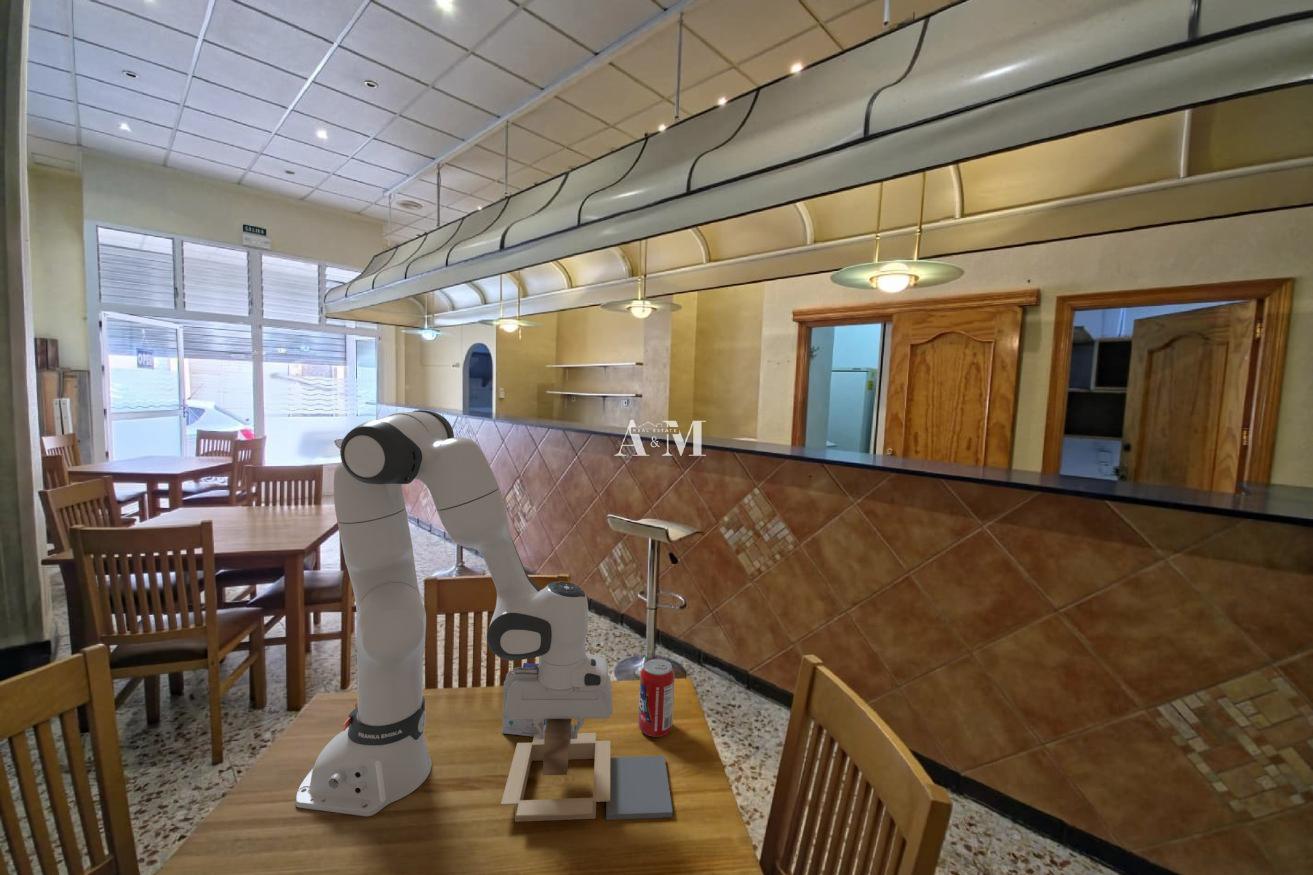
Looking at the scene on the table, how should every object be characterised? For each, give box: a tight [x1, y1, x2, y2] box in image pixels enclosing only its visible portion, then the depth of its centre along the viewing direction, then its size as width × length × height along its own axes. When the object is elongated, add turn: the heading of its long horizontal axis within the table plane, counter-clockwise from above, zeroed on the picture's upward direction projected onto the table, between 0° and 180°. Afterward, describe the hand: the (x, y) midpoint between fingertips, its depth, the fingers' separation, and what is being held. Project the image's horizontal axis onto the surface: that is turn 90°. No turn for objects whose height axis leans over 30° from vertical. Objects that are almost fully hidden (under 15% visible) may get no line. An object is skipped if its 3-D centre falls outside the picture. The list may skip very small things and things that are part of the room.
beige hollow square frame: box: [500, 732, 611, 823], centre depth 95 cm, size 19×20×4 cm
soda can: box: [638, 658, 676, 738], centre depth 112 cm, size 8×8×15 cm
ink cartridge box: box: [501, 662, 547, 738], centre depth 110 cm, size 10×6×14 cm, turn 84°
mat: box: [605, 755, 674, 821], centre depth 95 cm, size 12×14×1 cm
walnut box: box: [542, 719, 573, 776], centre depth 94 cm, size 4×9×8 cm, turn 6°
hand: (558, 736), depth 94 cm, fingers closed on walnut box, 4 cm apart
